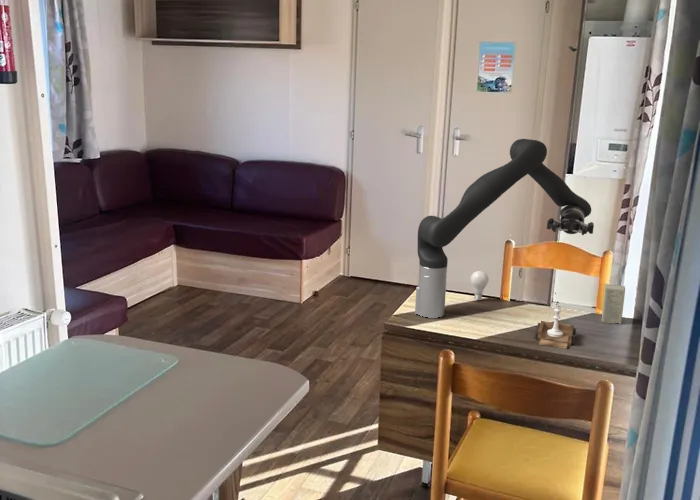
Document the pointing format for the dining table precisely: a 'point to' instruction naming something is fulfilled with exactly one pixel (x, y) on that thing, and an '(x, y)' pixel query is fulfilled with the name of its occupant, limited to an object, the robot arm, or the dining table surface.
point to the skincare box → (613, 303)
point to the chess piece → (555, 324)
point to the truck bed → (558, 342)
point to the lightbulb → (479, 283)
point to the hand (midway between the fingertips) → (568, 230)
